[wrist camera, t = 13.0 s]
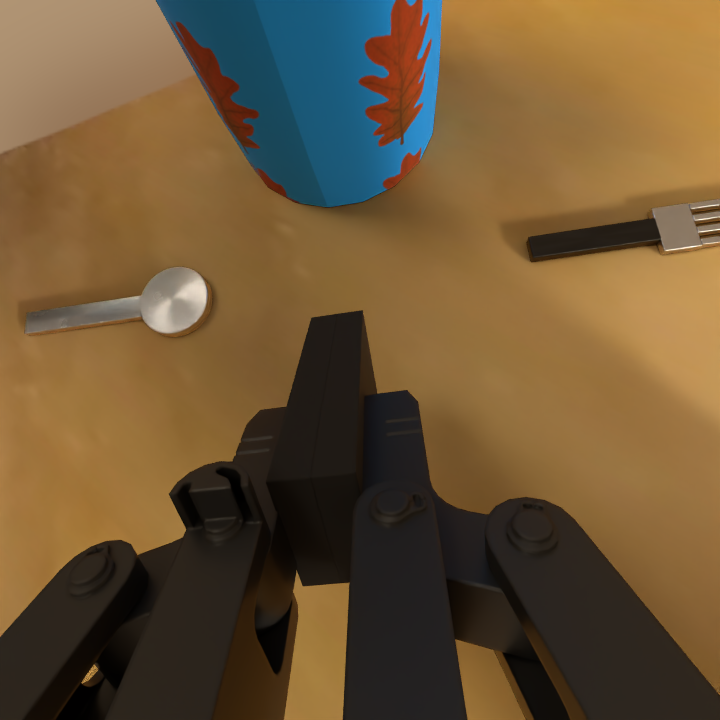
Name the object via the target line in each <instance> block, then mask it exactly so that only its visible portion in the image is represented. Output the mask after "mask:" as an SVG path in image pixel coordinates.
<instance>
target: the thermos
mask: <svg viewBox="0 0 720 720" xmlns="http://www.w3.org/2000/svg"><path fill="white" fill-rule="evenodd" d="M156 2H157V4H158V5H159V7H160V9H161V11H162V12H163V14H164V16H165V18H166V20H167V22H168V24H169V25H170V27H171V29H172V31H173V33H174V34H175V36H176V38H177V40H178V42H179V44H180V45H181V47H182V49H183V51H184V53H185V54H186V56H187V58H188V60H189V62H190V63H191V65H192V67H193V69H194V71H195V73H196V74H197V76H198V78H199V80H200V82H201V83H202V85H203V87H204V89H205V91H206V92H207V94H208V96H209V98H210V100H211V102H212V103H213V105H214V107H215V109H216V111H217V112H218V114H219V116H220V117H221V119H222V120H223V122H224V123H225V125H226V127H227V128H228V130H229V131H230V133H231V134H232V136H233V138H234V139H235V141H236V142H237V144H238V145H239V147H240V149H241V150H242V152H243V153H244V155H245V156H246V158H247V160H248V161H249V163H250V164H251V166H252V167H253V168H254V170H255V171H256V172H257V173H258V175H259V176H260V177H261V179H262V180H263V181H264V182H265V184H266V185H267V186H268V187H269V188H270V189H272V190H274V191H276V192H277V193H279V194H281V195H283V196H285V197H286V198H288V199H290V200H292V201H294V202H296V203H303V204H309V205H315V206H322V207H334V206H340V205H346V204H353V203H359V202H364V201H366V200H368V199H370V198H372V197H374V196H376V195H378V194H380V193H382V192H384V191H386V190H388V189H390V188H392V187H394V186H395V185H396V184H397V183H398V182H399V181H400V180H401V179H402V178H403V177H404V176H405V175H406V174H408V173H409V172H410V171H411V170H412V169H413V168H414V167H415V166H416V165H417V164H418V163H419V161H420V159H421V157H422V155H423V153H424V151H425V149H426V147H427V145H428V143H429V140H430V138H431V136H432V134H433V125H434V115H435V105H436V95H437V85H438V75H439V59H440V38H441V11H442V0H156Z"/></svg>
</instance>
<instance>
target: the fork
mask: <svg viewBox="0 0 720 720" xmlns="http://www.w3.org/2000/svg"><path fill="white" fill-rule="evenodd" d="M714 209H720V199H716V200H709V201H703V202H696V203H689V204H688V203H684V204H677V205H671V206H664V207H657V208H652V209H651V210H650V211H649V212H648V216H649V219H645V220H638V221H631V222H625V223H618V224H611V225H605V226H598V227H592V228H585V229H578V230H572V231H565V232H558V233H552V234H545V235H538V236H532V237H528V240H527V242H526V243H527V247H528V252H529V256H530V261H531V262H536V261H543V260H550V259H557V258H564V257H571V256H578V255H585V254H591V253H598V252H605V251H612V250H619V249H626V248H633V247H640V246H646V245H653V244H657V245H658V248H659V251H660V254H661V255H663V254H670V253H677V252H684V251H691V250H697V249H699V248H706V247H713V246H720V236H717V237H710V238H703V239H700V237H699V236H703V235H710V234H716V233H720V224H713V225H706V226H699V227H696V225H695V224H701V223H708V222H714V221H720V211H717V212H710V213H704V214H697V215H692V213H694V212H701V211H707V210H714Z"/></svg>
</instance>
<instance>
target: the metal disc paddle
mask: <svg viewBox="0 0 720 720" xmlns="http://www.w3.org/2000/svg"><path fill="white" fill-rule="evenodd" d="M211 307H212V291H211V288H210V286H209V284H208V282H207V281H206V280H205V279H204V278H203V277H202V276H201V275H200V274H199V273H198V272H196V271H195V270H193V269H190V268H187V267H172V268H168V269H165V270H163V271H161V272H159V273H158V274H156V275H155V276H154V277H153V278H152V279H151V280H150V281H149V282H148V283H147V285H146V286H145V288H144V290H143V292H142V295H140V296H134V297H127V298H120V299H114V300H107V301H100V302H94V303H87V304H80V305H74V306H67V307H61V308H54V309H47V310H41V311H34V312H27V315H26V324H25V334H26V335H29V336H34V335H41V334H47V333H54V332H61V331H68V330H75V329H82V328H89V327H96V326H103V325H110V324H116V323H123V322H130V321H137V320H143V321H144V322H145V324H146V325H147V326H148V327H149V328H151V329H152V330H154V331H155V332H157V333H159V334H161V335H163V336H167V337H180V336H184V335H187V334H189V333H191V332H193V331H194V330H196V329H197V328H198V327H200V326H201V325H202V324H203V322H204V321H205V320H206V318H207V317H208V315H209V313H210V310H211Z"/></svg>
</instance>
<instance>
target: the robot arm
mask: <svg viewBox="0 0 720 720" xmlns="http://www.w3.org/2000/svg"><path fill="white" fill-rule="evenodd" d="M169 496H170V498H171V500H172V502H173V504H174V506H175V508H176V510H177V512H178V514H179V516H180V518H181V520H182V522H183V524H184V525H185V527H186V532H185V534H184V536H183V538H181V539H178V540H176V541H174V542H172V543H169V544H166V545H164V546H161V547H158V548H155V549H153V550H150V551H147V552H144V553H142V554H139V555H137V554H136V552H135V550H134V549H133V547H132V545H131V544H129V543H127V542H125V541H122V540H113V541H105V542H102V543H100V544H97V545H94V546H91V547H90V548H88V549H86V550H85V551H83V552H81V553H80V554H78V555H77V556H75V557H74V558H73V559H72V560H71V561H69V562H68V563H67V564H66V565H65V566H64V567H63V568H62V569H61V570H60V571H59V572H58V573H57V574H56V575H55V576H54V578H53V579H52V580H51V581H50V582H49V583H48V584H47V585H46V587H45V588H44V589H43V590H42V591H41V592H40V593H39V594H38V595H37V597H36V598H35V599H34V600H33V601H32V602H31V603H30V604H29V606H28V607H27V608H26V609H25V610H24V611H23V612H22V613H21V614H20V616H19V617H18V618H17V619H16V620H15V621H14V622H13V623H12V625H11V626H10V627H9V628H8V629H7V630H6V631H5V632H4V633H3V635H2V636H1V637H0V720H284V715H285V707H286V700H287V693H288V686H289V679H290V672H291V665H292V657H293V650H294V643H295V636H296V629H297V622H298V604H297V601H296V599H295V596H294V593H293V589H294V582H295V576H296V570H297V572H298V575H299V577H300V580H301V583H302V586H313V585H325V584H337V583H349V582H350V585H349V605H348V625H347V646H346V666H345V687H344V707H343V720H467V714H466V708H465V701H464V695H463V688H462V682H461V675H460V668H459V662H458V655H457V649H456V642H455V639H457V640H461V641H464V642H468V643H471V644H475V645H478V646H482V647H486V648H489V649H493V650H494V652H495V654H496V656H497V658H498V660H499V663H500V665H501V667H502V669H503V671H504V673H505V675H506V678H507V680H508V682H509V684H510V686H511V688H512V690H513V693H514V695H515V697H516V699H517V701H518V703H519V705H520V708H521V710H522V712H523V714H524V716H525V718H526V720H720V695H719V694H718V693H717V692H716V690H715V689H714V688H713V687H712V686H711V684H710V683H709V682H708V681H707V680H706V678H705V677H704V676H703V675H702V673H701V672H700V671H699V670H698V669H697V667H696V666H695V665H694V664H693V663H692V661H691V660H690V659H689V658H688V657H687V655H686V654H685V653H684V652H683V650H682V649H681V648H680V647H679V646H678V644H677V643H676V642H675V641H674V640H673V638H672V637H671V636H670V635H669V633H668V632H667V631H666V630H665V629H664V627H663V626H662V625H661V624H660V623H659V621H658V620H657V619H656V618H655V616H654V615H653V614H652V613H651V612H650V610H649V609H648V608H647V607H646V606H645V604H644V603H643V602H642V601H641V599H640V598H639V597H638V596H637V595H636V593H635V592H634V591H633V590H632V589H631V587H630V586H629V585H628V584H627V583H626V581H625V580H624V579H623V578H622V576H621V575H620V574H619V573H618V572H617V570H616V569H615V568H614V567H613V566H612V564H611V563H610V562H609V561H608V559H607V558H606V557H605V556H604V555H603V553H602V552H601V551H600V550H599V549H598V547H597V546H596V545H595V544H594V542H593V541H592V540H591V539H590V538H589V536H588V535H587V534H586V533H585V532H584V530H583V529H582V528H581V527H580V525H579V524H578V523H577V522H576V521H575V519H574V518H572V517H571V516H570V515H569V514H568V513H567V512H565V511H564V510H563V509H562V508H561V507H559V506H556V505H554V504H552V503H550V502H548V501H545V500H541V499H535V498H528V497H523V498H516V499H509V500H507V501H505V502H503V503H501V504H499V505H497V506H495V508H494V509H493V510H492V511H491V513H490V514H489V515H487V514H481V513H475V512H470V511H466V510H462V509H458V508H456V507H454V506H452V505H450V504H448V503H446V502H445V501H444V500H443V499H441V498H440V497H439V496H438V495H437V493H436V492H435V491H434V489H433V487H432V484H431V481H430V476H429V470H428V463H427V457H426V450H425V444H424V437H423V431H422V424H421V418H420V411H419V405H418V401H417V400H416V399H415V398H414V397H413V396H412V395H411V394H410V393H409V392H408V391H407V390H404V391H396V392H388V393H380V394H377V389H376V383H375V378H374V372H373V366H372V360H371V355H370V349H369V343H368V338H367V332H366V326H365V321H364V315H363V310H361V311H354V312H348V313H341V314H334V315H327V316H320V317H313V318H311V321H310V324H309V328H308V332H307V335H306V339H305V342H304V346H303V350H302V353H301V357H300V360H299V364H298V367H297V371H296V375H295V378H294V382H293V385H292V389H291V393H290V396H289V400H288V403H287V407H280V408H272V409H264V410H260V411H259V412H258V413H257V414H256V415H255V416H254V417H253V418H252V419H251V420H250V421H249V423H248V424H247V425H246V428H245V430H244V433H243V435H242V438H241V443H239V446H238V448H237V451H236V456H234V459H233V461H232V462H225V461H219V462H215V463H211V464H207V465H204V466H202V467H200V468H198V469H196V470H194V471H192V472H190V473H189V474H187V475H186V476H185V477H184V478H182V479H181V480H180V481H178V482H177V484H176V485H175V486H174V488H173V489H172V490H171V492H170V493H169ZM94 664H95V666H96V667H97V668H98V669H99V670H98V671H97V672H96V673H95V675H94V676H93V677H92V678H91V679H90V680H89V681H87V682H85V683H83V684H82V683H81V682H82V680H83V679H84V678H85V676H86V675H87V673H88V672H89V670H90V669H91V667H92V666H93V665H94Z"/></svg>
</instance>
